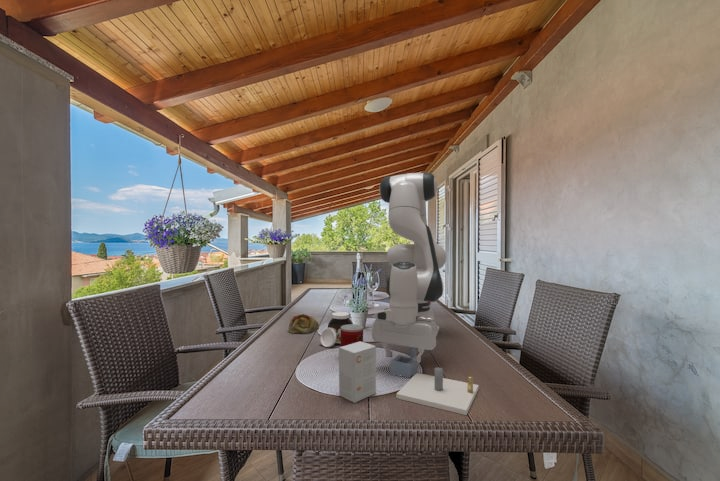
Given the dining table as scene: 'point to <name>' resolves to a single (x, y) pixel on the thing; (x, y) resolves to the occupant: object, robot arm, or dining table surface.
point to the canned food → (350, 334)
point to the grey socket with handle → (404, 365)
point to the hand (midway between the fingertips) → (403, 359)
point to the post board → (438, 392)
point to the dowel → (470, 384)
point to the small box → (357, 371)
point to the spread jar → (334, 329)
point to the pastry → (303, 324)
